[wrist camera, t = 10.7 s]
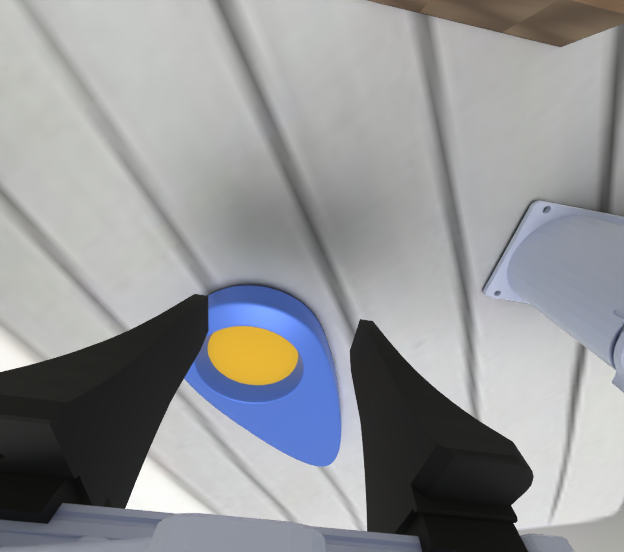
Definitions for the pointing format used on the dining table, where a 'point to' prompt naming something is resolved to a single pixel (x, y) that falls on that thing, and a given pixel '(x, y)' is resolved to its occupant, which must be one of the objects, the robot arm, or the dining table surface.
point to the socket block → (526, 16)
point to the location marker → (271, 371)
